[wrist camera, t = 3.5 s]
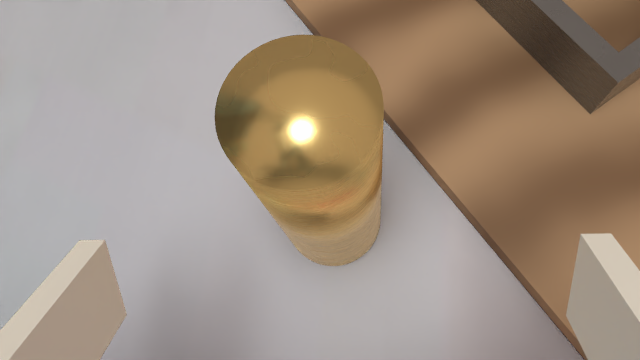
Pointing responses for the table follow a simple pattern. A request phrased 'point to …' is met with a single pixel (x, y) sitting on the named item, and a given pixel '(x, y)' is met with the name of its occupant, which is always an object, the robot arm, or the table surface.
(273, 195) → the cylinder
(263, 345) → the table surface
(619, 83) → the socket housing
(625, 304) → the robot arm
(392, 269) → the table surface
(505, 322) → the table surface
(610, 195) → the mounting board
